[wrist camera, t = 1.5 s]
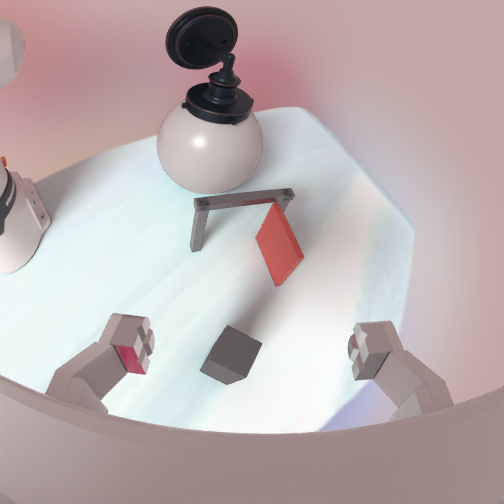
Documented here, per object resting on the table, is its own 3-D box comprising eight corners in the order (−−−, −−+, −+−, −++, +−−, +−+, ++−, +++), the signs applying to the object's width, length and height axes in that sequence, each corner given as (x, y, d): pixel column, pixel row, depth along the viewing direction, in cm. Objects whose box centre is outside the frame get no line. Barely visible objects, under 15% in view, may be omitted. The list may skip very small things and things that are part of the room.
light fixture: (171, 225, 50) (194, 42, 23) (143, 146, 58) (154, 6, 31) (264, 202, 59) (333, 57, 31) (221, 134, 67) (257, 11, 39)
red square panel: (255, 237, 53) (272, 203, 45) (260, 236, 53) (278, 202, 45) (275, 286, 49) (298, 258, 41) (280, 285, 49) (304, 257, 41)
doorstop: (199, 371, 39) (209, 358, 29) (213, 345, 41) (227, 324, 32) (226, 384, 39) (246, 377, 29) (239, 359, 41) (262, 343, 31)
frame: (267, 231, 55) (291, 188, 45) (270, 238, 54) (295, 195, 44) (187, 245, 49) (194, 198, 39) (189, 252, 48) (196, 206, 38)
